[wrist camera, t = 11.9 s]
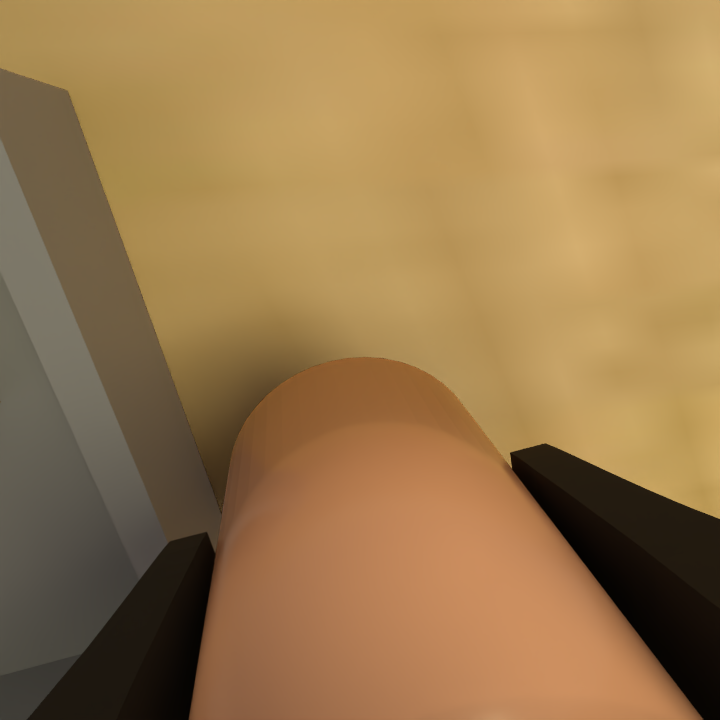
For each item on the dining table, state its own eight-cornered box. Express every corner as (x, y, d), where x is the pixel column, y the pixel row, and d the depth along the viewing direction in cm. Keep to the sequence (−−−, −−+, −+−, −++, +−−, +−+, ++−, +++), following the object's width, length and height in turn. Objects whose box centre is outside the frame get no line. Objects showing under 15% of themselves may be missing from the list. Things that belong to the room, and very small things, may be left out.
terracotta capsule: (494, 545, 12) (748, 995, 6) (267, 605, 12) (254, 1157, 5) (462, 329, 10) (778, 613, 4) (194, 393, 10) (40, 823, 4)
